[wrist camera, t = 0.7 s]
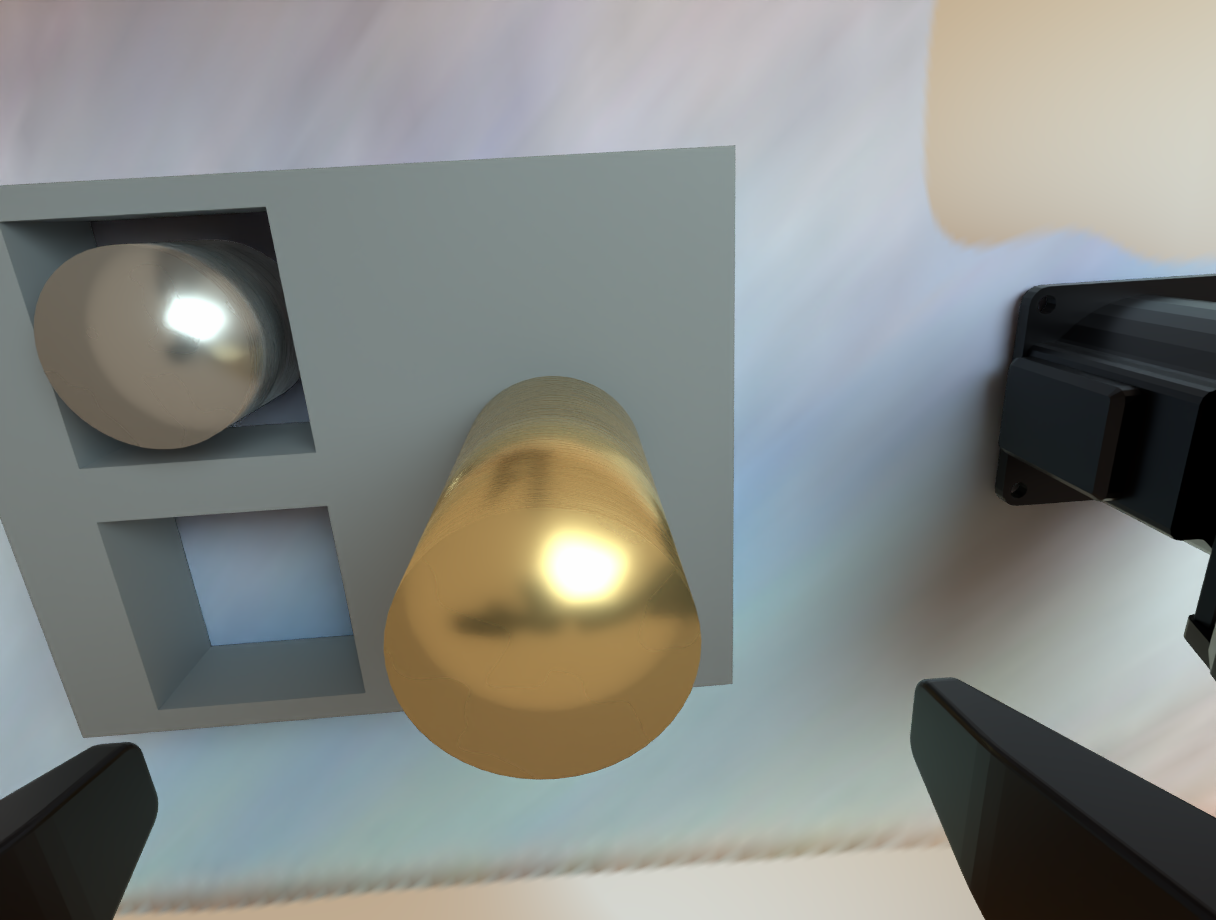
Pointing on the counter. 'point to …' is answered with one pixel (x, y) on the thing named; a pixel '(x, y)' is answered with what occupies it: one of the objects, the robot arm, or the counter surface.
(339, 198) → the jig
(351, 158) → the counter surface
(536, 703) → the brass cylinder
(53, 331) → the chrome sphere
